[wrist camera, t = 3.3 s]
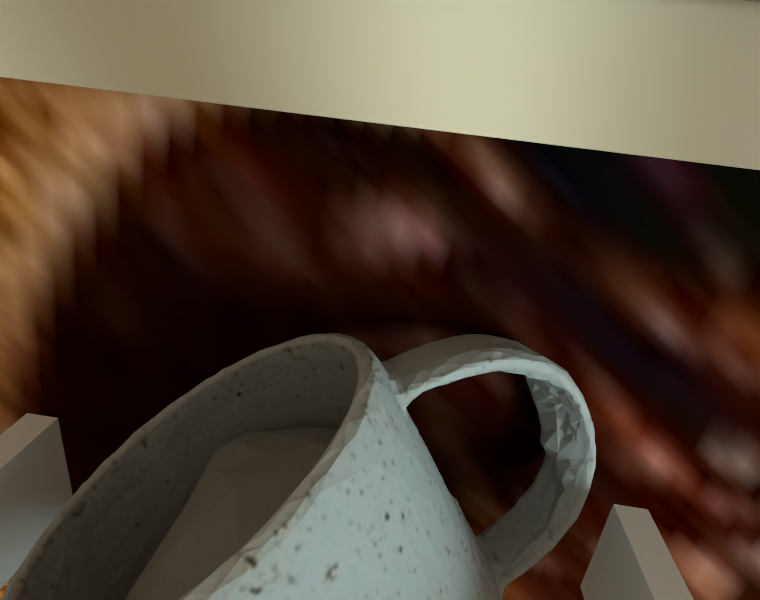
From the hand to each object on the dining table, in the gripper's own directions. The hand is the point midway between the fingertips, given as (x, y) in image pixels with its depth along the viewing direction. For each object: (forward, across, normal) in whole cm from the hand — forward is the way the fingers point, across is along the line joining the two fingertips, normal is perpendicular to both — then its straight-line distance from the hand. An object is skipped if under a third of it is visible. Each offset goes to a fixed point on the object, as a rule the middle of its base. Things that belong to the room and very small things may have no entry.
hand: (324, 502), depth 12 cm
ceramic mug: (+2, -1, 0) cm, 2 cm away
